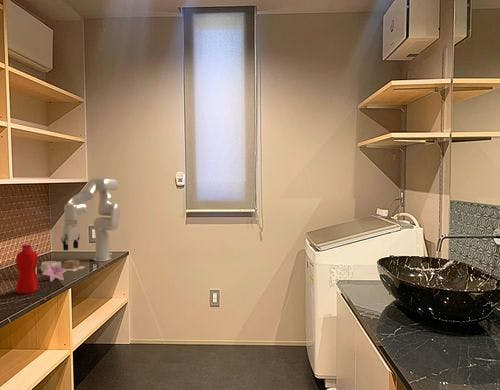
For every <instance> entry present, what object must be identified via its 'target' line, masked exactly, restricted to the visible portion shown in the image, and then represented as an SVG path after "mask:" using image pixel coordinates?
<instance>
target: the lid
mask: <svg viewBox="0 0 500 390" xmlns="http://www.w3.org/2000/svg"><path fill="white" fill-rule="evenodd" d="M85 268H86V266H85V265H80V260H77V259H68V260H65V261H63V267H61V269H65V270H67V271H66V272H76V271H79V270H82V269H85Z"/></svg>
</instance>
